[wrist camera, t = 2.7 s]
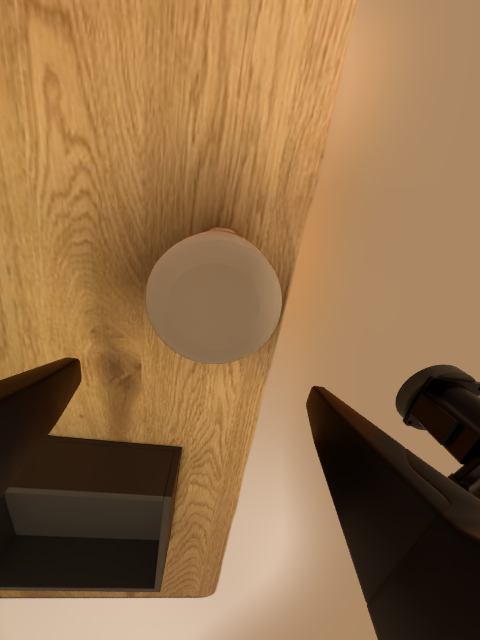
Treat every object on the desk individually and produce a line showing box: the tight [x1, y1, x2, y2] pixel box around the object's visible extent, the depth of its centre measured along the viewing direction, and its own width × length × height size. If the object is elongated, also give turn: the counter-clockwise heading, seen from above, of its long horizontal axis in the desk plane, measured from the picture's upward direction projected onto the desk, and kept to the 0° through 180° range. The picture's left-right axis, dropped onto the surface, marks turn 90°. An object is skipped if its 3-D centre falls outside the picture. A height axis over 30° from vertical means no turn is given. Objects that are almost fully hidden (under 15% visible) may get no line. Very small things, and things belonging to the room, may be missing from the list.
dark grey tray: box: [0, 436, 182, 592], centre depth 28 cm, size 22×20×6 cm
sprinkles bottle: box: [146, 226, 282, 364], centre depth 14 cm, size 5×5×13 cm
